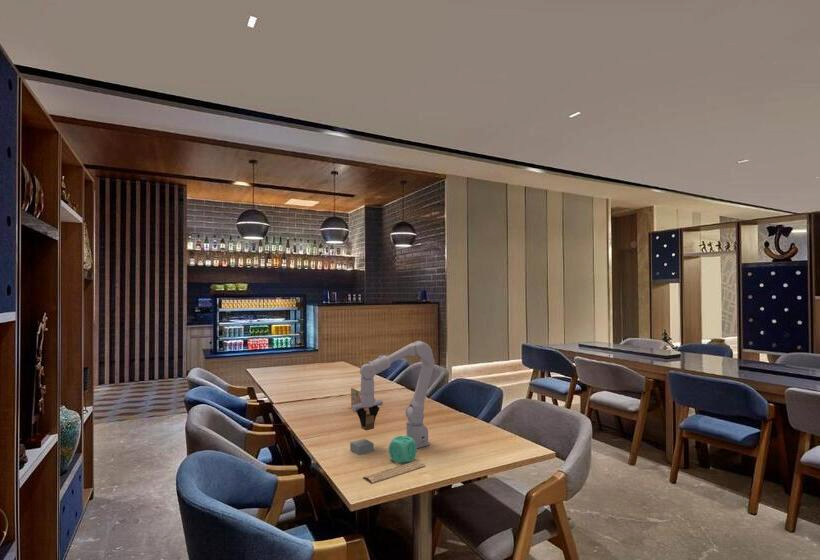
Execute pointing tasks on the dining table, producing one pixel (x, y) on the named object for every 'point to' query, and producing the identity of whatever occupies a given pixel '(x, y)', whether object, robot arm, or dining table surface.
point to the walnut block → (369, 422)
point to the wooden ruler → (395, 471)
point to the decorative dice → (402, 449)
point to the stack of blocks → (357, 397)
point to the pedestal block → (361, 446)
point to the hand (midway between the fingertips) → (367, 425)
